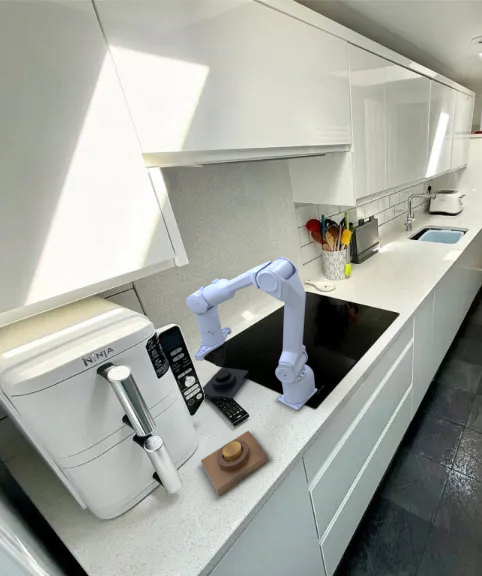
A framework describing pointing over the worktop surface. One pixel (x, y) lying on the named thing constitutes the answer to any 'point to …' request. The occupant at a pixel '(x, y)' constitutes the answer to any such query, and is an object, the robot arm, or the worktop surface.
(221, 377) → the black button
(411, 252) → the worktop surface
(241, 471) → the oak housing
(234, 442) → the brass button
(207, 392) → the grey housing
